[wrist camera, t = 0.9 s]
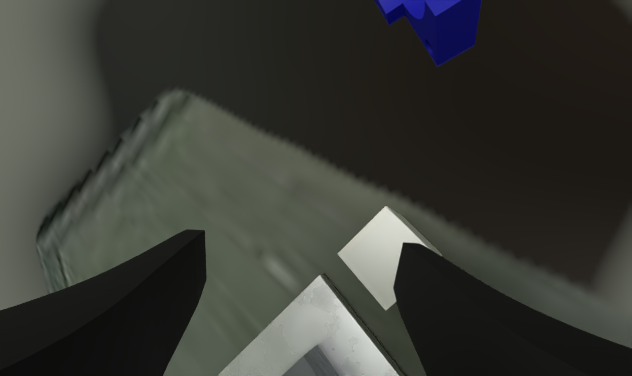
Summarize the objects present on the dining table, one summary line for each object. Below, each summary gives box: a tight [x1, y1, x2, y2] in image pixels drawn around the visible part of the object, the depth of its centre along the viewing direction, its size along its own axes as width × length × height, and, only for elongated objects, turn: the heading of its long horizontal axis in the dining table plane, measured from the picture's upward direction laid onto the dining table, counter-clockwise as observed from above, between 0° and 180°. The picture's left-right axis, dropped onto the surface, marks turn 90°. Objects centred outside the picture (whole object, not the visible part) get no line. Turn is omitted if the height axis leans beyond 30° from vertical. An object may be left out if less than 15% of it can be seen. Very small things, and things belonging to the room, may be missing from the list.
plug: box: [338, 206, 442, 310], centre depth 19 cm, size 4×4×7 cm
